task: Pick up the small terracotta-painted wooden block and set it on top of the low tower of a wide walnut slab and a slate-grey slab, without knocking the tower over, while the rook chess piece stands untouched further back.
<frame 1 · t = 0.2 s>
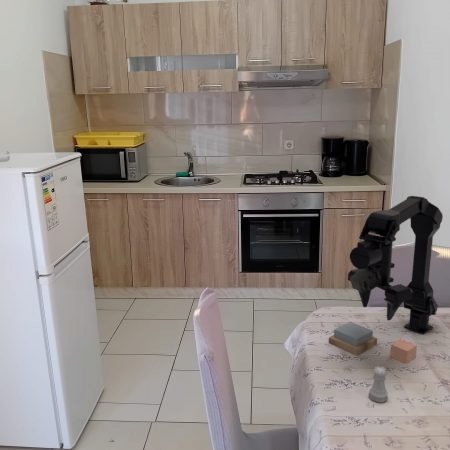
hand: (376, 313, 129), 14 cm above the table, tool pointing down, fingers open, 9 cm apart
slate top block: (352, 337, 140), point 2 cm above the table
rook chess piece: (378, 398, 115), on the table
terracotta block: (402, 357, 133), on the table
walnut base block: (352, 345, 141), on the table
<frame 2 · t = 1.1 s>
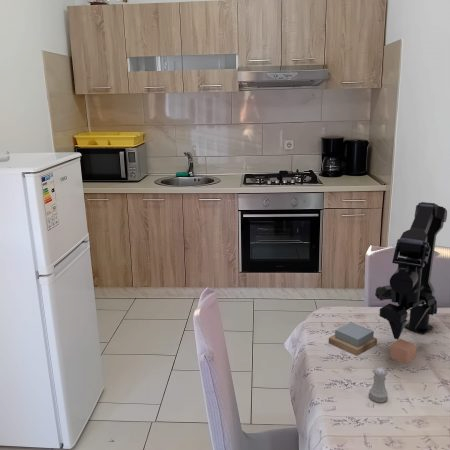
hand: (404, 333, 131), 7 cm above the table, tool pointing down, fingers open, 9 cm apart
slate top block: (353, 338, 140), point 2 cm above the table, touching walnut base block
walnut base block: (352, 345, 141), on the table, touching slate top block
everything else where it was.
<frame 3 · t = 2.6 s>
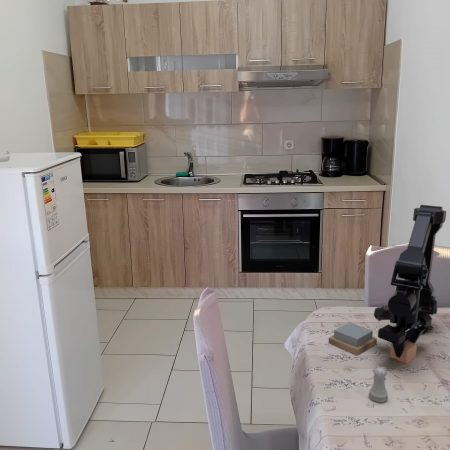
hand: (403, 353, 132), 1 cm above the table, tool pointing down, fingers closed on terracotta block, 5 cm apart
terracotta block: (402, 357, 133), on the table, touching gripper
everything else where it was.
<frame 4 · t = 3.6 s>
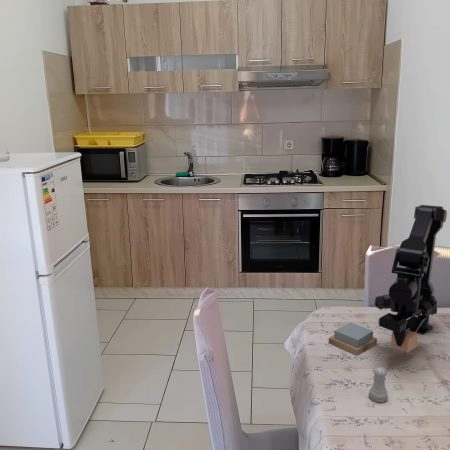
hand: (404, 342, 132), 5 cm above the table, tool pointing down, fingers closed on terracotta block, 5 cm apart
terracotta block: (403, 346, 132), point 3 cm above the table, touching gripper
everything else where it was.
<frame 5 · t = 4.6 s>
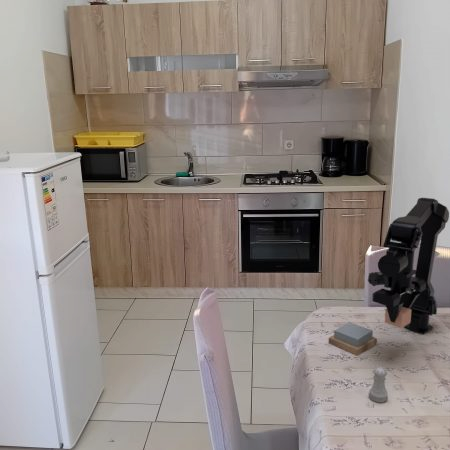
hand: (397, 319, 131), 11 cm above the table, tool pointing down, fingers closed on terracotta block, 5 cm apart
slate top block: (353, 338, 140), point 2 cm above the table
terracotta block: (397, 322, 131), point 10 cm above the table, touching gripper
walnut base block: (352, 345, 141), on the table
everything else where it was.
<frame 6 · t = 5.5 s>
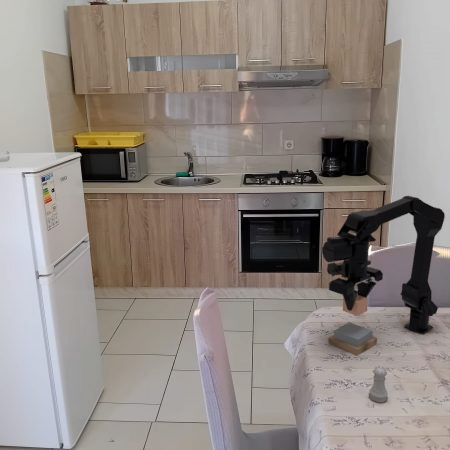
hand: (354, 307, 138), 12 cm above the table, tool pointing down, fingers closed on terracotta block, 5 cm apart
slate top block: (352, 338, 140), point 2 cm above the table, touching walnut base block
terracotta block: (354, 310, 138), point 11 cm above the table, touching gripper
walnut base block: (352, 345, 141), on the table, touching slate top block
everything else where it was.
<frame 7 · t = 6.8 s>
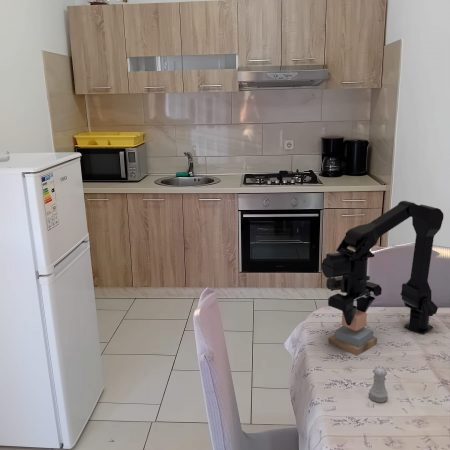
hand: (353, 322, 139), 7 cm above the table, tool pointing down, fingers closed on terracotta block, 5 cm apart
terracotta block: (353, 325, 139), point 6 cm above the table, touching gripper
everything else where it was.
when the fingers open (7 cm above the table, at t = 7.3 s): terracotta block drops 2 cm, resting on slate top block.
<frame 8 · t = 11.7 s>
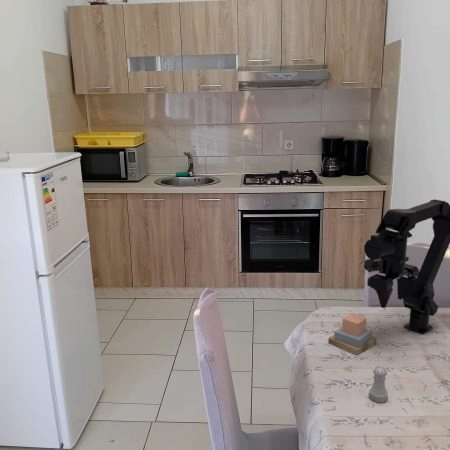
hand: (391, 303, 139), 12 cm above the table, tool pointing down, fingers open, 9 cm apart
slate top block: (353, 338, 140), point 2 cm above the table, touching terracotta block, walnut base block
terracotta block: (353, 330, 140), point 4 cm above the table, touching slate top block
everything else where it was.
at the end: terracotta block 0.4 cm off-centre on the walnut base block, point 5.0 cm above the walnut base block's base; terracotta block tilted 0°; slate top block 0.2 cm off-centre on the walnut base block, point 2.5 cm above the walnut base block's base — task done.
